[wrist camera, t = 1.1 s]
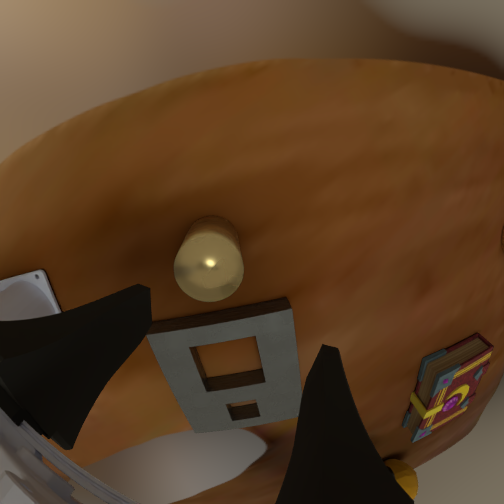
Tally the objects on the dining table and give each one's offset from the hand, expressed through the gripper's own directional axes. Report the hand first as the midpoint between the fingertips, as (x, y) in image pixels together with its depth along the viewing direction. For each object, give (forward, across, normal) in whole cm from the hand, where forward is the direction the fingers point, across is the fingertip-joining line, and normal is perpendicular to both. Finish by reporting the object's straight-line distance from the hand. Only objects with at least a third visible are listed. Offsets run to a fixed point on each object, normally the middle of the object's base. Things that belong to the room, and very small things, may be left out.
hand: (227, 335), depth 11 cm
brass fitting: (+11, +5, +2) cm, 12 cm away
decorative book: (+20, -28, +19) cm, 39 cm away
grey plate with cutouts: (+10, +1, +14) cm, 17 cm away
